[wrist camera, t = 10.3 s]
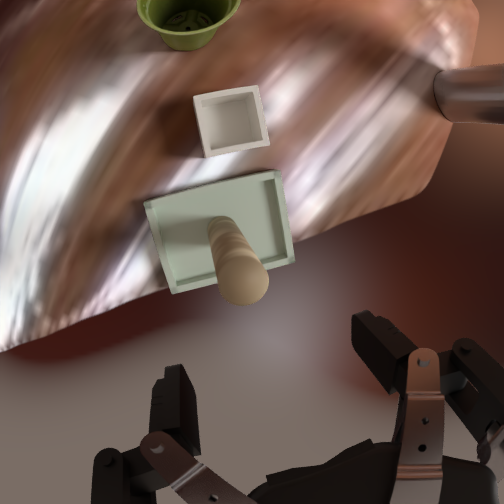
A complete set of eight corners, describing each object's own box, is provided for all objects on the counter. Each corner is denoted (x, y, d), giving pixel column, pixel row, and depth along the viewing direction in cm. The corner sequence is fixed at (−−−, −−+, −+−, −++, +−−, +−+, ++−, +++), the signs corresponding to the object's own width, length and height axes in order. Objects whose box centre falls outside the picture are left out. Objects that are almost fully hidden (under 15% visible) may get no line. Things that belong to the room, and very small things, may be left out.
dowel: (233, 212, 31) (264, 253, 18) (240, 240, 33) (272, 298, 20) (204, 219, 31) (213, 267, 18) (211, 248, 32) (225, 311, 19)
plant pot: (245, 35, 25) (262, 1, 17) (180, 79, 26) (176, 52, 18) (197, -9, 22) (200, -48, 14) (133, 32, 22) (117, -1, 14)
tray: (275, 169, 31) (280, 169, 30) (289, 256, 35) (295, 262, 33) (146, 200, 30) (143, 202, 28) (172, 286, 34) (172, 294, 32)
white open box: (248, 95, 28) (257, 85, 23) (258, 146, 30) (270, 145, 26) (193, 105, 27) (193, 96, 23) (204, 158, 29) (206, 158, 25)
